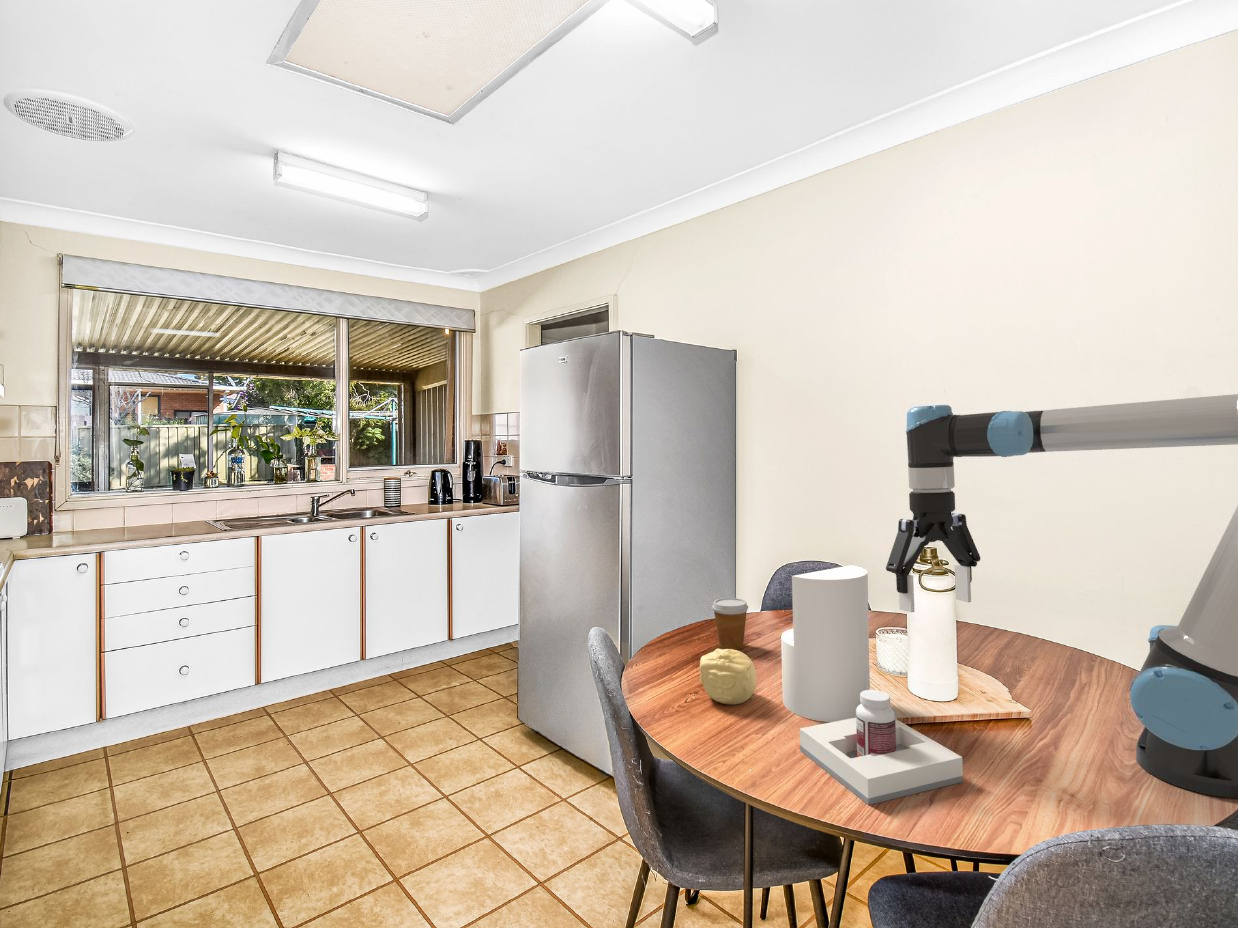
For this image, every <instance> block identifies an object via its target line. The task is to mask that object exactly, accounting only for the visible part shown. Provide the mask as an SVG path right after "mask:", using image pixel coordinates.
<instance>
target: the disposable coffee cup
mask: <svg viewBox="0 0 1238 928" xmlns="http://www.w3.org/2000/svg"><path fill="white" fill-rule="evenodd" d="M748 609H749V606H748V604H747V601H746V600H745V599H741V598H737V597H736V598H735V597H733V598H732V597H724V598H723V597H722V598H718V599H715V600H714V601H713V603H712V611H713V613H714V619H715V626H716V633H717V639H718V646H719V649H733V650H737V651H739V650H741V649H743V648H744V642H745V631H746V623H747V622H746V620H747V612H748Z"/></svg>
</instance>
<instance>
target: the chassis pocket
mask: <svg viewBox="0 0 1238 928" xmlns="http://www.w3.org/2000/svg"><path fill="white" fill-rule="evenodd" d="M895 725H896V752H892V753H887V754H882V755H878V756H872V755H870V754H869V755H865V756H860V757H858V755H857V731H856V718H851V719H846V720H841V721H835V722H825V723H822V724H821V723H820V724H817V725H810V726H805V727H800V728H799V751H800V752H801V753H802V754H804V755H805V756H807V758H809V759H810V760H811V761H813V762H814V763H815V764H816V765H818V766H819V767H820V768H821V769H823V770H824V771H825V772H826V773H828V775H830V776H831V777H832V778H833V779H835V780H836V781H837V782H839V783H840V784H841V785H843V786H844V787H845V788H846V789H848V791H850V792H852V794H854V795H855V796H856V797H858V798H859V800H861V801H862V802H864V803H865V804H866V805H868V806H871V805H874V804H875V805H876V804H879V803H882V802H887V801H891V800H894V799H898V798H901V797H902V798H903V797H906V796H911V795H914V794H920V793H924V792H926V791H930V790H936V789H938V788H942V787H948V786H953V785H957V784H959V783H963V778H964V777H963V774H964V773H963V757H962V755H959V754H958V753H955V752H954V751H952V750H951V749H948V748H947V747H946V746H944V745H942V744H940V743H938V742H937V741H935V740H933V739H931V738H929V737H928V736H926V735H925V734H923V733H921V732H919V731H917V730H916V729H914V728H912V727H910V726H908V725H907V724H905V723H903V722H902V721H900V720H898V719H897V718H895Z"/></svg>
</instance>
